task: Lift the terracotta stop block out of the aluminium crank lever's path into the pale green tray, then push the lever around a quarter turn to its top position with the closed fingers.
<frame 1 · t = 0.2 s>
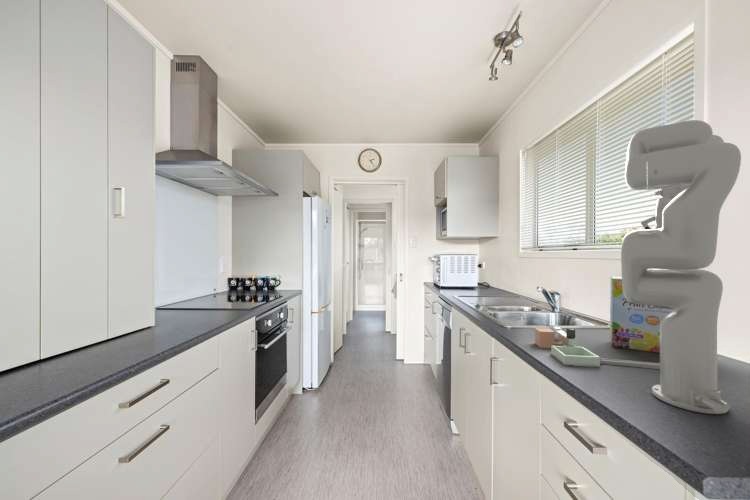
hand: (677, 246, 96), 37 cm above the worktop, tool pointing down, fingers open, 9 cm apart
adjustable wrench: (641, 367, 94), on the worktop
stop block: (544, 345, 114), on the worktop
crank: (562, 334, 111), point 5 cm above the worktop, hinge at 0.0°
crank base: (555, 342, 117), on the worktop
snack box: (648, 349, 109), on the worktop
tray: (574, 360, 99), on the worktop
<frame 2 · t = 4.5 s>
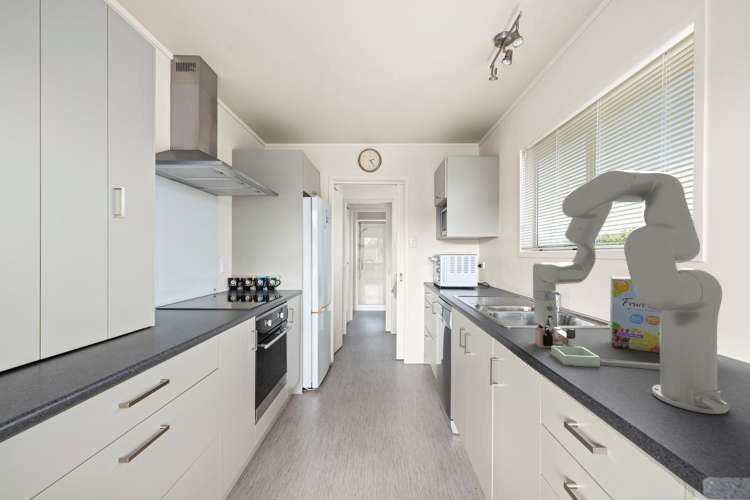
hand: (544, 343, 114), 1 cm above the worktop, tool pointing down, fingers closed on stop block, 5 cm apart
stop block: (544, 345, 114), on the worktop, touching gripper
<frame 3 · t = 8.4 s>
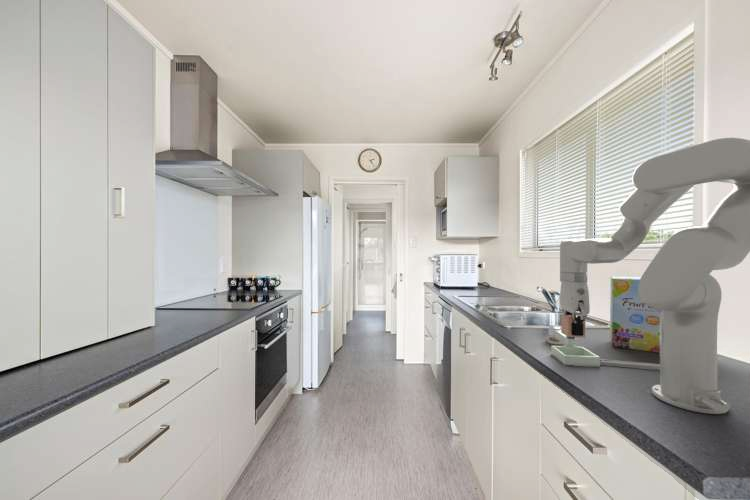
hand: (572, 332, 99), 9 cm above the worktop, tool pointing down, fingers closed on stop block, 5 cm apart
stop block: (572, 335, 99), point 8 cm above the worktop, touching gripper
when the fingers open (3 cm above the worktop, at t = 9.9 s): stop block drops 1 cm, resting on tray.
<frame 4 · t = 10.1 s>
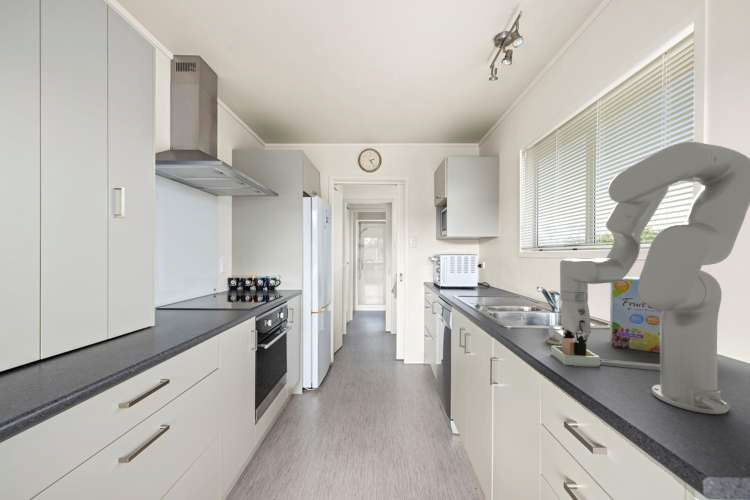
hand: (574, 350, 98), 3 cm above the worktop, tool pointing down, fingers open, 6 cm apart
stop block: (574, 358, 98), resting on tray
crank: (562, 334, 111), point 5 cm above the worktop, hinge at 0.0°, touching gripper
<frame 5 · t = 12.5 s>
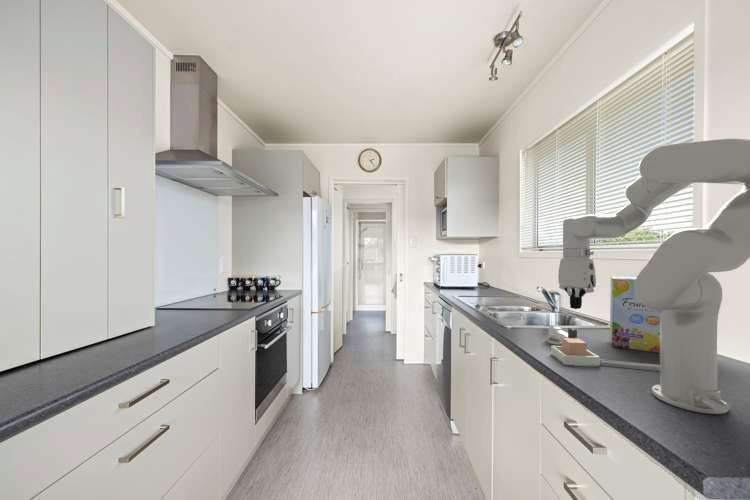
hand: (575, 308, 102), 16 cm above the worktop, tool pointing down, fingers closed
crank: (562, 334, 111), point 5 cm above the worktop, hinge at -2.5°
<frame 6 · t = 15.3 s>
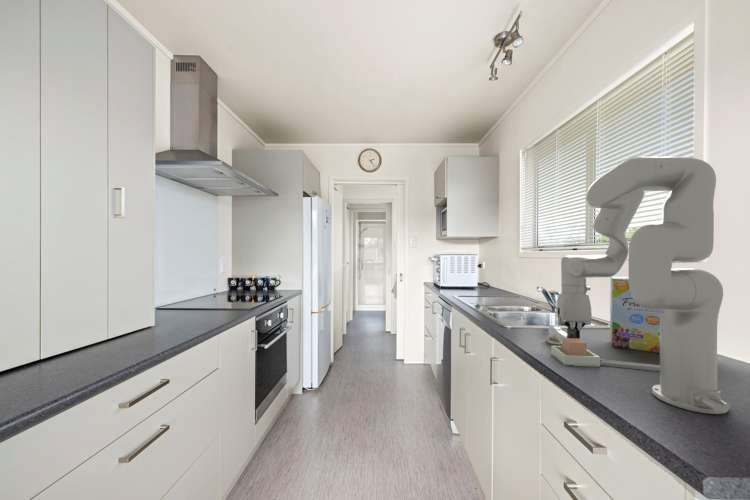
hand: (574, 340, 109), 3 cm above the worktop, tool pointing down, fingers closed
crank: (562, 334, 111), point 5 cm above the worktop, hinge at -1.0°, touching gripper
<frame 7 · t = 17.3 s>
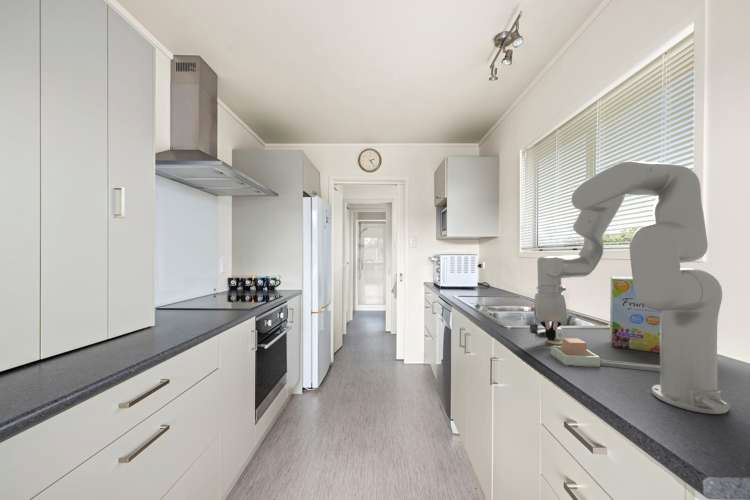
hand: (550, 339, 111), 3 cm above the worktop, tool pointing down, fingers closed
crank: (545, 331, 115), point 5 cm above the worktop, hinge at 54.9°, touching gripper
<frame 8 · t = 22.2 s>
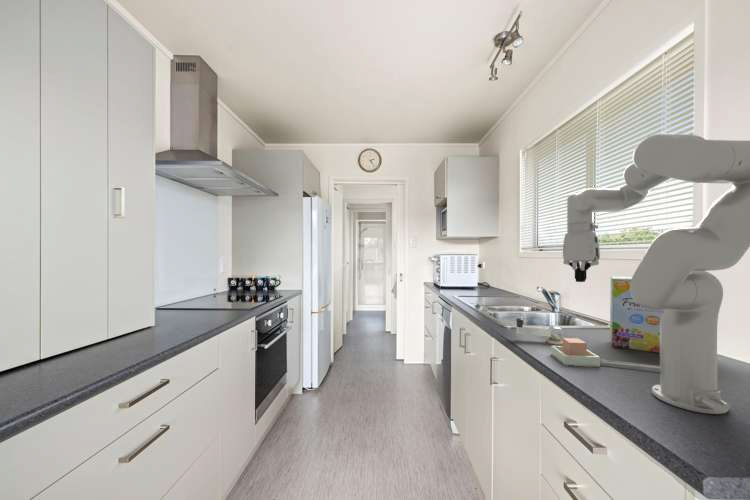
hand: (580, 281, 105), 25 cm above the worktop, tool pointing down, fingers closed
crank: (538, 329, 119), point 5 cm above the worktop, hinge at 97.1°
at the end: stop block 0.0 cm off-centre on the tray, point 0.5 cm above the tray's base; stop block tilted 0°; crank at +97° (first picture: +0°) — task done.
